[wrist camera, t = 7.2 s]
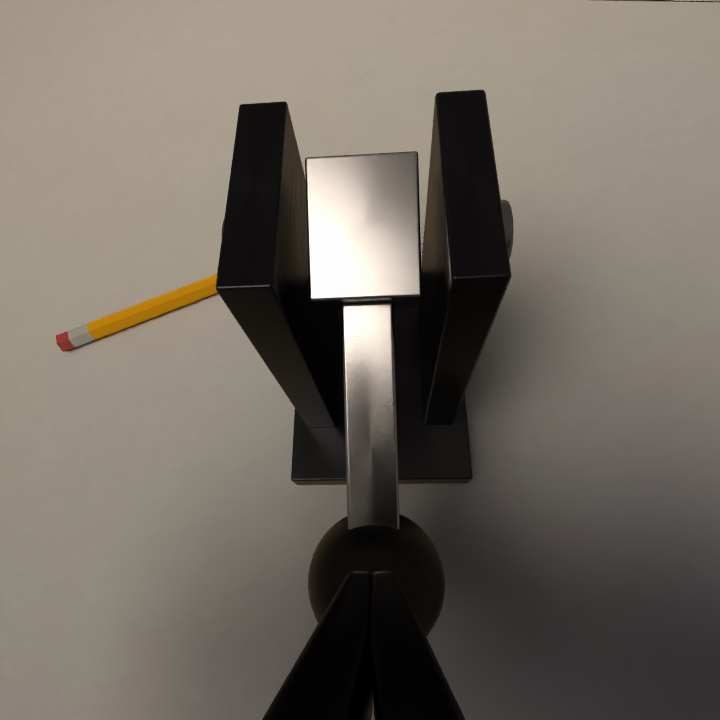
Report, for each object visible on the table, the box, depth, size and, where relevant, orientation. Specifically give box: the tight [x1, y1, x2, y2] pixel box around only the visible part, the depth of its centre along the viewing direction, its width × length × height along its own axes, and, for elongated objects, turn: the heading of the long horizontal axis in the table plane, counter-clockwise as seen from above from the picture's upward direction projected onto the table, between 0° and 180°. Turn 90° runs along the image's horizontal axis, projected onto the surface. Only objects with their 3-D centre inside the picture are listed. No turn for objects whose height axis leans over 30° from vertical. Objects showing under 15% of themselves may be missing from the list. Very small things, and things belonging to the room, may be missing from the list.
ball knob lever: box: [305, 151, 445, 636], centre depth 11 cm, size 10×3×3 cm, turn 0°
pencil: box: [56, 274, 218, 351], centre depth 20 cm, size 1×13×1 cm, turn 112°
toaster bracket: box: [216, 90, 513, 485], centre depth 14 cm, size 8×6×10 cm
